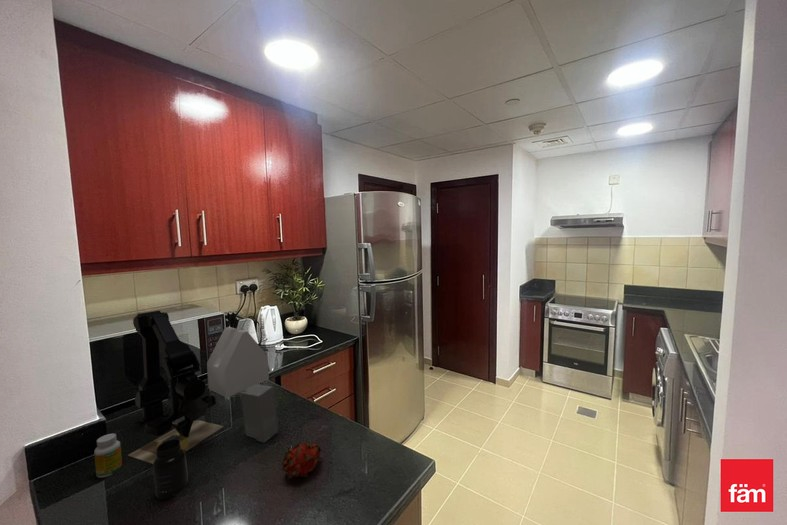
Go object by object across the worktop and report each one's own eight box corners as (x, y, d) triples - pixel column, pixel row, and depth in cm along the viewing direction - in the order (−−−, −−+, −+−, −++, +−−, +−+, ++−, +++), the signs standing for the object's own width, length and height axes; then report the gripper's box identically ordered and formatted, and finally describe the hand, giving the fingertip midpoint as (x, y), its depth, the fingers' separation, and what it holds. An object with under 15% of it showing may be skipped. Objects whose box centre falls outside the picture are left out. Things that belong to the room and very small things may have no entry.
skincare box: (279, 432, 102) (276, 385, 101) (261, 445, 96) (258, 395, 95) (260, 426, 106) (257, 381, 105) (242, 439, 99) (239, 391, 98)
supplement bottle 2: (166, 481, 82) (163, 437, 82) (193, 478, 83) (190, 435, 82) (148, 502, 76) (144, 455, 75) (178, 499, 76) (174, 452, 75)
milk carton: (250, 373, 152) (247, 322, 150) (268, 380, 143) (265, 326, 141) (208, 388, 136) (204, 332, 135) (226, 398, 127) (222, 338, 126)
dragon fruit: (278, 491, 80) (317, 471, 89) (295, 484, 76) (334, 463, 85) (270, 455, 83) (308, 439, 92) (286, 446, 79) (324, 430, 88)
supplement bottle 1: (106, 479, 84) (103, 444, 83) (90, 477, 85) (87, 442, 84) (127, 465, 89) (124, 432, 88) (112, 463, 90) (109, 430, 89)
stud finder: (157, 453, 92) (156, 441, 92) (174, 443, 97) (173, 431, 96) (171, 457, 90) (170, 445, 90) (188, 447, 95) (187, 435, 94)
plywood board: (121, 456, 93) (121, 453, 93) (186, 420, 112) (186, 417, 111) (169, 472, 85) (169, 469, 85) (230, 430, 104) (230, 427, 104)
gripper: (168, 410, 84) (173, 465, 85) (226, 380, 102) (230, 426, 103) (141, 404, 88) (146, 457, 89) (202, 376, 106) (205, 421, 107)
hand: (185, 439), depth 97 cm, fingers closed
